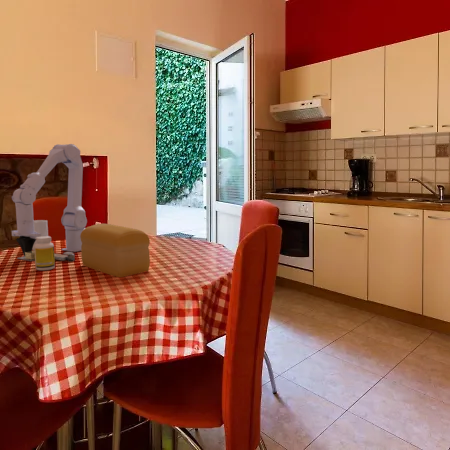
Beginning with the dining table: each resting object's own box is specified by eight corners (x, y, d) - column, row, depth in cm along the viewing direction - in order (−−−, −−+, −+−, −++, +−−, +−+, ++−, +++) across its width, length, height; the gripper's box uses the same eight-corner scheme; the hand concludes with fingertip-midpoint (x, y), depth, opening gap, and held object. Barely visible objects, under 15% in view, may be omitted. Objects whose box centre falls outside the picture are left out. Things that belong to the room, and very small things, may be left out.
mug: (45, 250, 167) (43, 222, 165) (28, 250, 166) (27, 222, 165) (54, 245, 177) (52, 219, 175) (38, 245, 176) (37, 219, 174)
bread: (80, 265, 143) (78, 224, 141) (112, 259, 152) (111, 220, 150) (118, 278, 127) (117, 232, 124) (151, 270, 136) (150, 227, 134)
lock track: (26, 256, 155) (26, 256, 155) (40, 259, 151) (40, 258, 151) (17, 258, 151) (17, 257, 151) (31, 261, 147) (31, 260, 147)
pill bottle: (58, 268, 137) (56, 237, 136) (39, 271, 133) (37, 239, 131) (50, 265, 142) (49, 235, 140) (32, 268, 137) (30, 237, 136)
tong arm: (40, 255, 156) (40, 247, 156) (73, 259, 149) (73, 252, 149) (34, 256, 154) (34, 249, 153) (67, 261, 146) (66, 253, 146)
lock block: (33, 256, 152) (33, 250, 152) (39, 257, 151) (39, 251, 150) (25, 258, 149) (24, 252, 149) (31, 259, 148) (31, 253, 147)
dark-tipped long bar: (46, 254, 159) (45, 248, 158) (78, 260, 150) (78, 253, 150) (38, 256, 156) (38, 250, 155) (71, 261, 147) (70, 255, 147)
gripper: (3, 220, 149) (5, 255, 151) (28, 223, 142) (30, 260, 144) (20, 218, 155) (22, 252, 157) (45, 221, 149) (47, 256, 151)
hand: (27, 255), depth 151 cm, fingers closed
